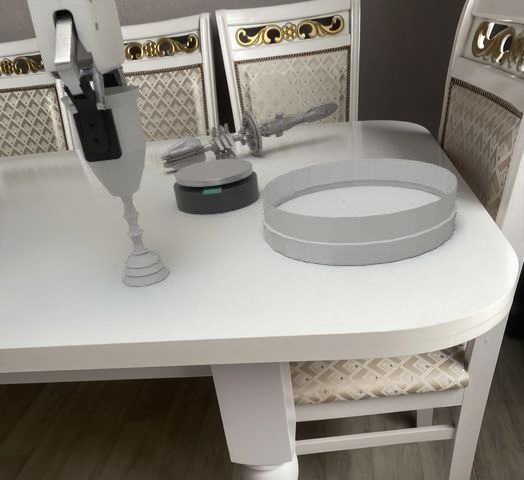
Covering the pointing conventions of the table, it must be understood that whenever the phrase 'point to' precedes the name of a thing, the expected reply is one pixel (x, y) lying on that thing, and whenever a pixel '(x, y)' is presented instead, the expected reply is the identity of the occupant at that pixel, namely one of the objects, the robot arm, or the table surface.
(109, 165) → the chalice
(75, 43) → the robot arm
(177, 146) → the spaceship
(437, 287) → the table surface
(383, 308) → the table surface
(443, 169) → the gray round ring
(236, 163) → the scale pan
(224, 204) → the scale
